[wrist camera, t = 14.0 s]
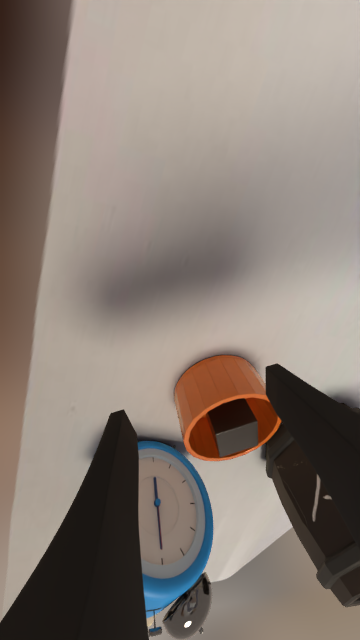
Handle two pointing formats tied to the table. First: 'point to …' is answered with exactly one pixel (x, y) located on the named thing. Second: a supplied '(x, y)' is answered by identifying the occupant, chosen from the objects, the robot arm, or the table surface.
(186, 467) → the alarm clock
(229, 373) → the cup
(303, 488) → the wooden barrel
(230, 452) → the block
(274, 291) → the table surface
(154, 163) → the table surface
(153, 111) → the table surface
